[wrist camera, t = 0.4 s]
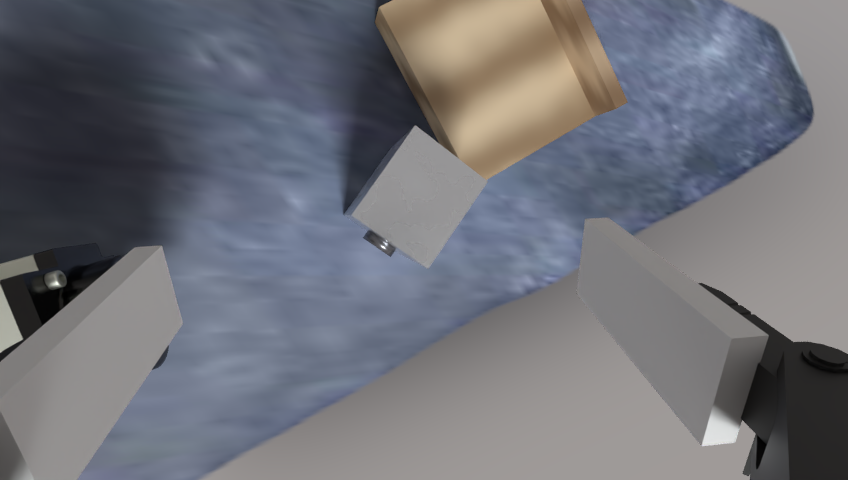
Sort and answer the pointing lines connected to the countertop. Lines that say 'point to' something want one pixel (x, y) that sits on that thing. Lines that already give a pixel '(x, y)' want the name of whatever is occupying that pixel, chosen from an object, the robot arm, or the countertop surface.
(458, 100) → the wooden tray
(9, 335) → the ball valve
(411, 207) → the lock block
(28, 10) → the countertop surface
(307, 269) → the countertop surface
